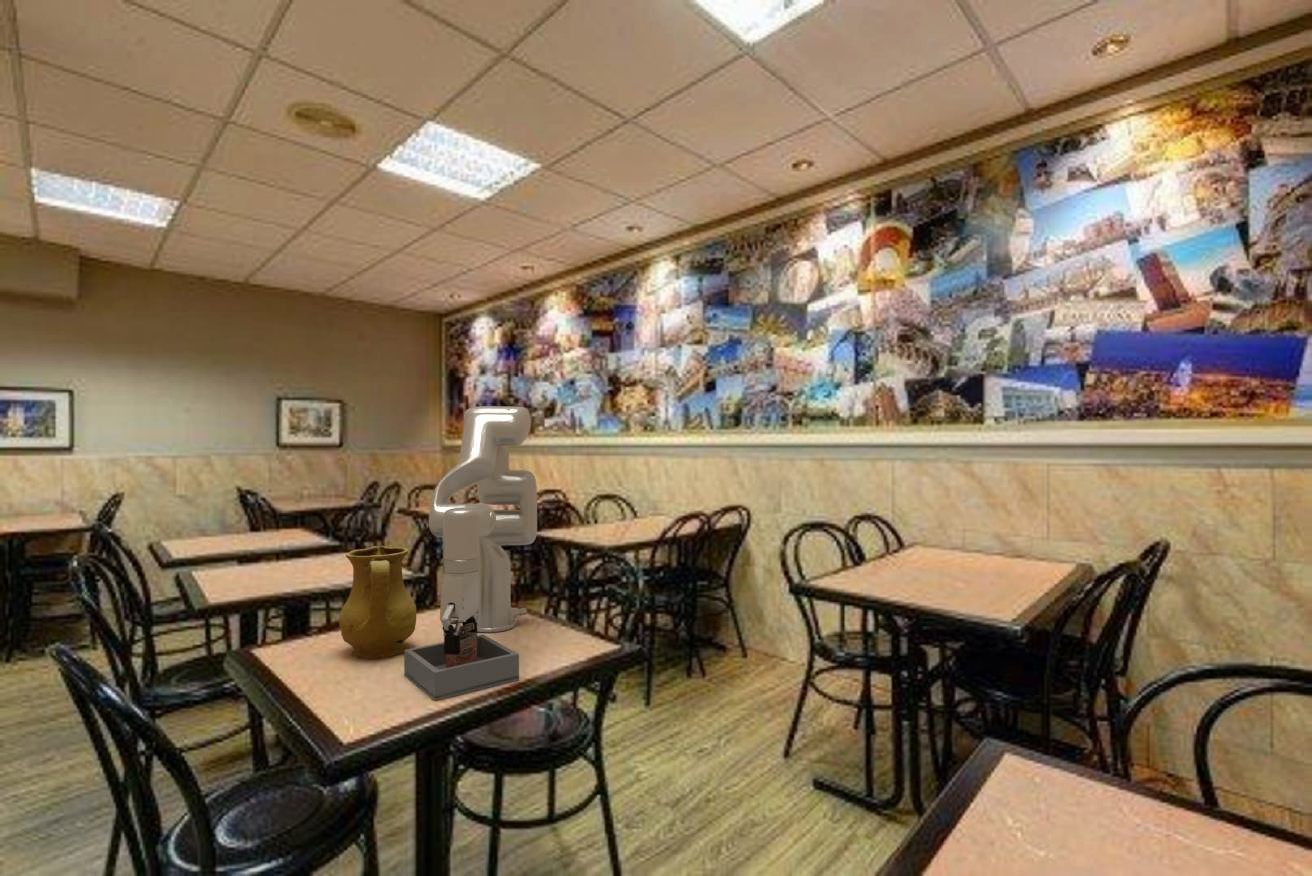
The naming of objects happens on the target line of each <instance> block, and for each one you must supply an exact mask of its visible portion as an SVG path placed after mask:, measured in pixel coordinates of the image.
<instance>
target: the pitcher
mask: <svg viewBox="0 0 1312 876" xmlns="http://www.w3.org/2000/svg"><path fill="white" fill-rule="evenodd" d="M408 553H409V549H408V548H407V547H401V546H395V547H391V546H384V545H381V546H376V545H375V546H374V545H373V546H371V547H368V548H367V547H366V548H361V549H353V550H351V551H350V552H346V554H345V557H346V558H347V559H348V561H349V562H350V564H351V565H352V568H353V571H352V575H353V576H352V586H351V590H350V593H349V596H348V597H347V600H346V601H345V603H344V605H343V606H342V609H341V611H340V614H339V620H338V621H339V625H338V626H339V629H340V631H341V638H342V640H343V641H344V643H347V644H348V645H350V646H351V647H352V649H353V650H352V652H351V654H350V656H352V657H353V658H356V659H357V658H358V659H364V660H366V659H371V660H376V659H380V658H381V659H382V658H383V659H384V658H390V657H394V656H398V655H399V654H400V655H401V654H402V653H404V650H406V649H409V647H408V646H409V645H408V644H407V643H404V642H405V641H406V640H407V639H409V638H410V637H411V636H412V635H413V634H414V632H415V631H416V624H417V606H416V603H415V600H414V599H413V597H412V596H411V595H410V592H408V589H407V588H406V586H405V584H404V577H403V567H402V564H403V562H404V561H403V560H404V558H405V557H406V556H407V554H408Z"/></svg>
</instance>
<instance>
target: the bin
mask: <svg viewBox="0 0 1312 876" xmlns="http://www.w3.org/2000/svg"><path fill="white" fill-rule="evenodd" d="M403 653H404V655H403V656H404V658H403V660H404V661H403V662H404V667H403V668H404V673H403V675H404V677H406V678H407V679H408V680H409V681H410V682H411V683H413V684H414V685H415V686H416V687H418V688H419V690H421V691H422V692H423V693H424V694H426V695H427V696H428V697H429V698H430V699H431V700H432V701H434V702H436V701H440V700H441V701H442V700H445V699H448V698H449V699H450V698H452V697H457V696H461V695H464V694H468V693H473V692H477V691H481V690H484V689H485V690H486V689H490V688H493V687H496V686H501V685H505V684H508V683H513V682H517V681H519V680H520V654H519V653H518V652H516V651H514V650H512V649H511V648H509V647H507V646H505V645H504V644H502V643H500V642H498V641H495V640H494V639H493V638H490V637H488V636H486V635H485V634H478V637H477V661H476V662H472V663H467V664H463V665H458V666H454V667H449V668H446V654H445V653H444V641H442V642H438V643H432V644H427V645H423V646H418V647H412V648H408V649H406V650H404V652H403Z"/></svg>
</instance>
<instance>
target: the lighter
mask: <svg viewBox="0 0 1312 876" xmlns="http://www.w3.org/2000/svg"><path fill="white" fill-rule="evenodd" d="M472 629H474V624H473V623H469V624H465V625H464V626H462V625H460V629H459V632H458V635H460V653H459V654H458V655H452V654H446V668H449V667H454V666H458V665H463V664H467V663H472V662H476V661H477V637H478V635H479V634H478V632H477V633H470V631H469V630H472Z"/></svg>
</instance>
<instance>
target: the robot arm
mask: <svg viewBox="0 0 1312 876" xmlns="http://www.w3.org/2000/svg"><path fill="white" fill-rule="evenodd" d="M463 423H464V426H463V427H464V428H463V434H462V441H461V447H460V453H459V459H458V463H457V464H456V466H454V467H453V468H451V469H450V470H449V471H447V473H446V474H445V475H444V476H443V477H442V478H441V480H440V481H439V482H438V484H437V485H436V486H435V488H434V490H433V494H432V498H431V502H430V503H431V504H430V509H429V512H428V528H429V531H430V532H431V534H432V535H434V536H435V537H437V538H442V575H443V578H442V585H441V591H440V593H441V594H440V608H439V609H440V611H439V612H440V613H439V621H440V622H441V625H442V631H443V633H442V634H443V637H444V638H443V639H444V640H443V642H444V653H445V654H452V655H458V654H459V653H460V635H458V632H459V629H460V626H464V625H465V624H469V623H473V624H474V629H472V630H469V631H470V633H477V634H478V633H497V632H498V633H500V632H504V631H507V630H511V629H513V628H515V627H516V626H517V620H516V618H517V617H519V616H526V615H528V614H527V613H528V609H527V608H526V607H521V608H518V607H512V606H511V574H512V573H511V571H512V570H511V567H512V566H511V559H510V557H509V554H508V553H507V552H506V551H505V550H504V548H502V546H526V545H531V544H533V543H534V542H535V540H536V538H537V533H538V489H537V487H538V486H537V480H536V476H535V475H534V473H533V472H531V471H529V470H525V469H515V470H514V469H510V451H509V450H508V448H507V447H517V446H520V445H522V444H523V443H524V442H525V440H526V438H527V437H528V435H529V434H530V430H531V427H532V420H531V414H530V412H529V410H528V409H527V408H526V407H524V406H516V405H515V406H510V405H509V406H508V405H507V406H506V405H505V406H500V405H499V406H497V405H490V406H489V405H488V406H487V405H486V406H485V405H483V406H472V407H470V408H468V409H466V410H465V412H464V414H463ZM474 484H476V494H477V498H478V501H479V502H480V503H448V502H449V500H450V499H451V497H453V495H455V494H456V493H457V492H458V491H461V490H463V489H465V488H467V487H469V486H472V485H474ZM491 506H518V507H519V509H493V508H492V507H491ZM461 624H462V625H461ZM454 625H455V626H454Z"/></svg>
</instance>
